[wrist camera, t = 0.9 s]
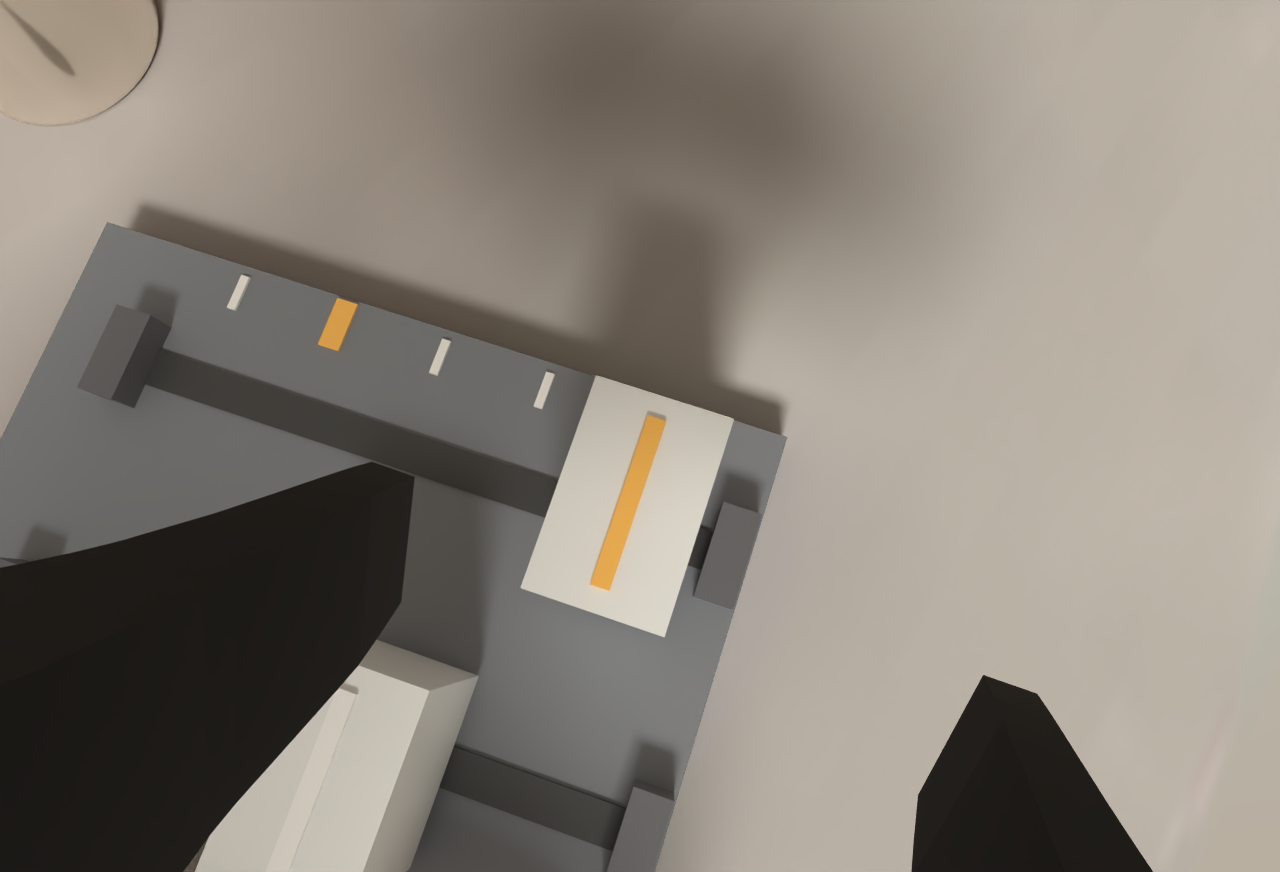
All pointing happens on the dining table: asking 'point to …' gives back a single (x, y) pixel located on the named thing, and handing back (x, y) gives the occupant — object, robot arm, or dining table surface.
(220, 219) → the dining table surface
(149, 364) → the console board
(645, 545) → the fader knob
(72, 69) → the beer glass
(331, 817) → the fader knob
